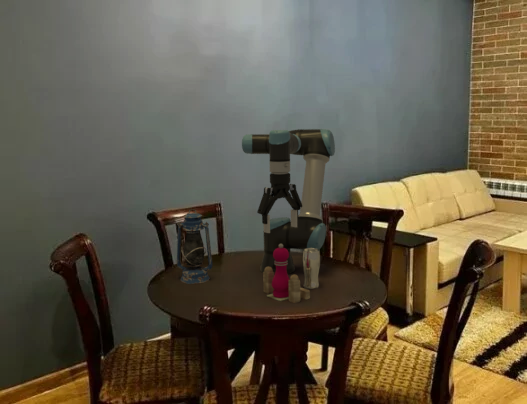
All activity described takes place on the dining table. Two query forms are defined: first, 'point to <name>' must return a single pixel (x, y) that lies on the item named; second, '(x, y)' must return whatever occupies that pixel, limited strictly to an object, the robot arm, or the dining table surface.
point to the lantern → (193, 249)
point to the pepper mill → (280, 273)
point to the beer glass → (311, 267)
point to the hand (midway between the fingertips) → (280, 229)
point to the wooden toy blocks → (294, 289)
